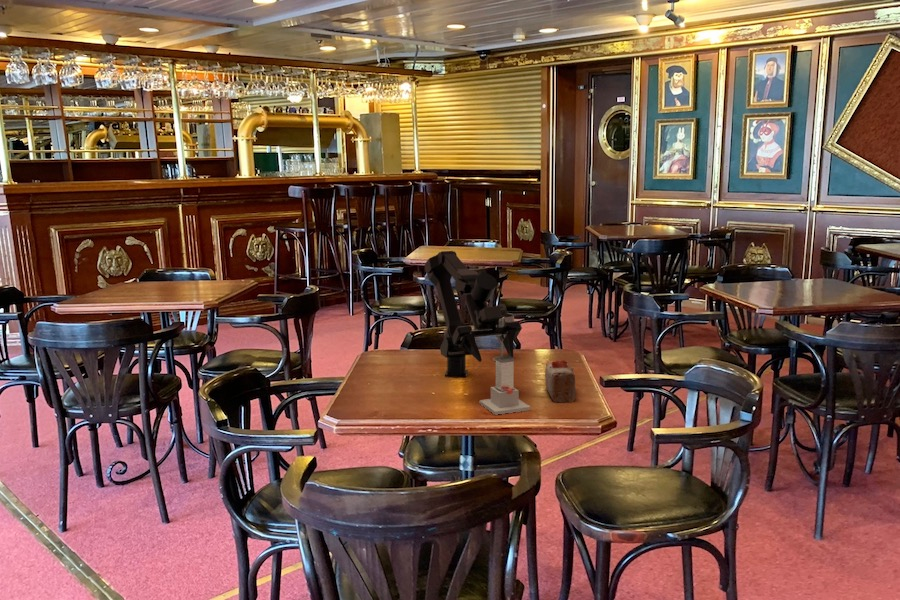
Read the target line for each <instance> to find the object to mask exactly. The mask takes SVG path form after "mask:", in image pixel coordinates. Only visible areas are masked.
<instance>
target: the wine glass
mask: <svg viewBox="0 0 900 600" xmlns="http://www.w3.org/2000/svg"><path fill="white" fill-rule="evenodd" d="M498 321H499V323H498V325H496V328H500V327H503V326H504V324H505V322H510V321H515V315H514V314H513V313H511V312H510V313H509V312H507V315H506V316H504V317H502V318H500V319H499V320H498ZM494 337H495V338H496V339H497V340H498V342H499V346H500V349H499V350H500V355H499V356H503V355H504V344H503V340H504V339H502V336H501V335H494ZM492 358H493V360H495V358H494V357H492ZM495 361H496V360H495Z"/></svg>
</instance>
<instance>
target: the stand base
mask: <svg viewBox="0 0 900 600" xmlns="http://www.w3.org/2000/svg"><path fill="white" fill-rule="evenodd" d="M519 394H520V392H519V389H517V388H516V387H514V390H513V388H509V389H508V390H507V391H505V392H500V391H498V390H497V389H496V386H490V398H487V399H481V400H479V403H478V404H479V405H480V404H481V405H480V406H482V407H483V406H484V407H485V410H487V409H488V410H489V413H491V412H492V413H491V414H493V415H494V414H495V415H494V416H499V415H498V414H502V415H506V414H505V413H509V414H514V413H513V412H516V413H520V412H521V411H522V412H527V411H531V406H530V405H529V404H527V403H525V402H524V401H522V400H521V399H520V397H519V396H520V395H519ZM484 407H483V408H484ZM488 410H487V411H488Z"/></svg>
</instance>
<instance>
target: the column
mask: <svg viewBox="0 0 900 600" xmlns="http://www.w3.org/2000/svg"><path fill="white" fill-rule="evenodd" d="M494 357H495V360H496V362H495V387H496V389H497V390H498V391H500V392H505V391H507V390H508V389H509V388H513V390H514V388H515V387H514V375H515V373H514V366H515V365H514V364H515V363H514V362H516V361H515V359H516V358H514V356H513V357H511V356H509V355H508V354H505V355H504V354H503V356H500V355H497V356H494Z"/></svg>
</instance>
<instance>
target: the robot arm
mask: <svg viewBox="0 0 900 600" xmlns="http://www.w3.org/2000/svg"><path fill="white" fill-rule="evenodd" d="M424 271H425V273H426V274H427V277H428V280H429V281H430V282H431V283H432V284H433V285H434V286H435V288H436V291H437V295H438V299H439V303H440V306H441V307H440V308H441V310H442V311H441V312H442V314H443V318H444V323H445V326H446V327H445V328H446V329H445V332H444V334H443V340H442V343H441V345H440V347H439V349H440V355H442V356H443V357H444V358H446V372H445V373H444V377H448V378H449V377H451V378H453V377H454V378H466V377H467V375H468V372H469V370H468V369H467V366H466V365H467V363H466V361H467V360H466V358H467V357H466V356H472V357H473V358H475V359H476V360H477V361H478V363H481V362H482V356H481V353H480V350H479V348H478V344H477V341H476V338H479V337H491V336H494V337H495V335H501V336H502V339H504V340H503V344H504V345H503V347H504V348H505V350H506V353H507V355H509V356H511V357H513V358H514V340H516V339H517V338H518V337H519V334H520V333H521V331H522V330H523V327H522V324H521V322H520V321H518V320H514V321H510V322H505V324H504V326H503V327H500V328H496V325H498V323H499V321H498V320H499V319H500V318H502V317H504V316H506V315H507V313H508V310H507V307H506V304H505V303H499V304H497V305H496V306H489V304H488V301H489V300H491V298H492V295H493V294H494V292H495V289H496V287H497V284H498V282H497V279H496V278H495V277H494V276H493V275H491V274H489V273H487V271H486V270H479V271H478V272H477V270H473V269H469V268H468V267H467V266H466V265H465V264H464V263H463V261H462V260H461V259H460V258H459V257H458V256H457V252H456V251H454V250H442V251H439V252H438V253H437V254H436V255H432V256H431V257H430V258H428V259H427V260H426V262H425V263H424ZM452 278H453V279H454V281H455V284H454V287H455V289H456V291H457V293H458V294H459V295H461V296H463V295H466V297H465V300H464V309H467V311H468V314H469V317H470V320H469V322H470V324H471V325H473V329H472V326H471V325H469V324H468V323H464V322H462V319H461V315H460V312H459V308H458V304H457V301H456V297H455V293H454V289H453V285H452V281H451V280H452Z"/></svg>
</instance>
